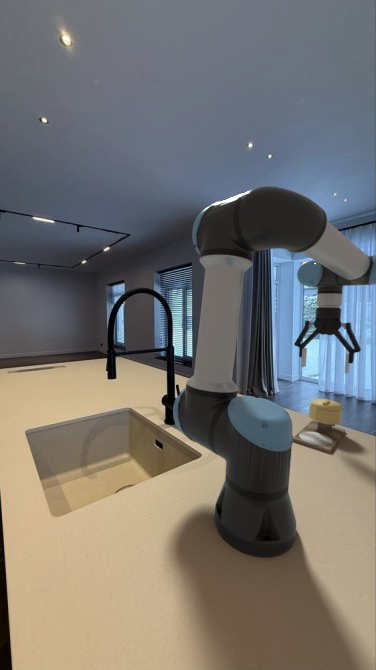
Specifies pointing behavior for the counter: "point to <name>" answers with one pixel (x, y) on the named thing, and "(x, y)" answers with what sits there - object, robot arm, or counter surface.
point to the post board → (319, 436)
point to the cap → (326, 411)
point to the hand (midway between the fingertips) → (324, 369)
